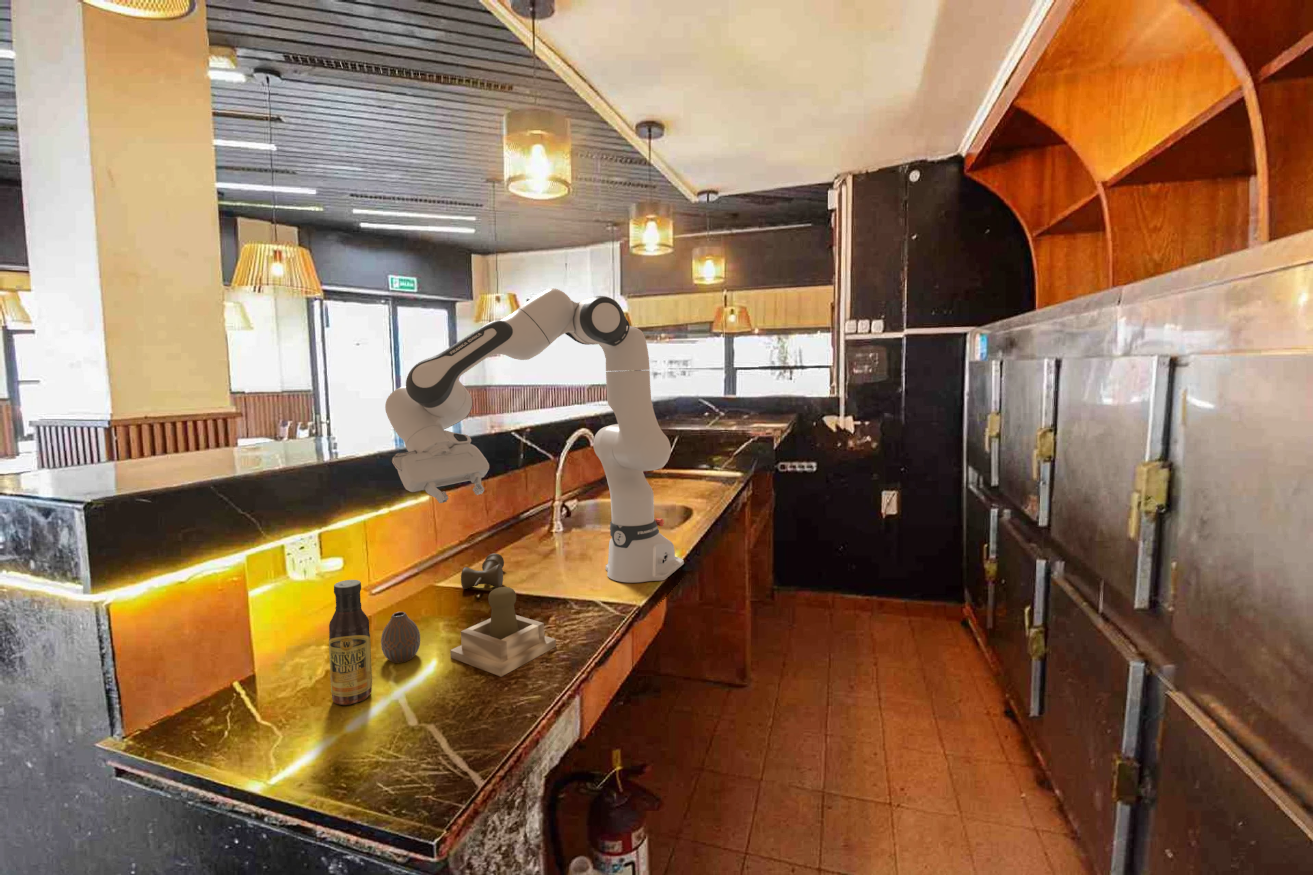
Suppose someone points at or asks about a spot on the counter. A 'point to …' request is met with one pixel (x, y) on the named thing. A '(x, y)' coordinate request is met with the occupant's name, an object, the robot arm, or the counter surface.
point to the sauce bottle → (349, 646)
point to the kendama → (485, 573)
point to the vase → (400, 638)
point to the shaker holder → (502, 646)
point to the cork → (502, 612)
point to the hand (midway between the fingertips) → (463, 496)
